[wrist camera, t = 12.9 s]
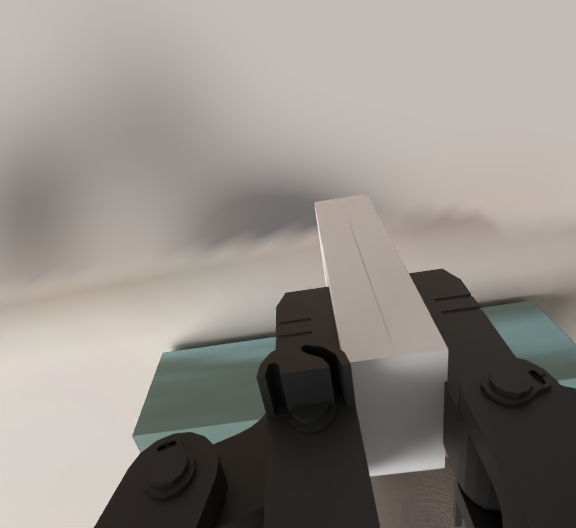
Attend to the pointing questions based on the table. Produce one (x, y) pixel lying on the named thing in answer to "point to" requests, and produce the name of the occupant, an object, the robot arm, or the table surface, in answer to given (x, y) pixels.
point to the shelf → (250, 354)
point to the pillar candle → (416, 498)
